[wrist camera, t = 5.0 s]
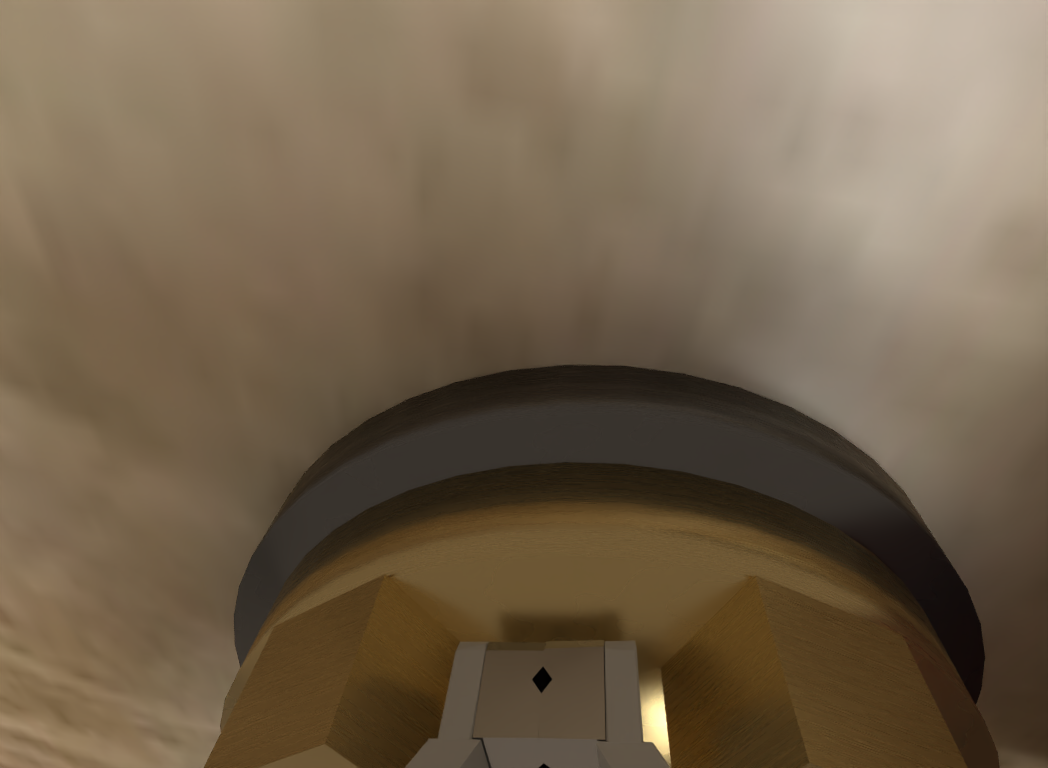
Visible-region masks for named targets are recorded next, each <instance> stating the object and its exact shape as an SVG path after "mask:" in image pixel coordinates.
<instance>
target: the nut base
mask: <svg viewBox="0 0 1048 768" xmlns="http://www.w3.org/2000/svg"><path fill="white" fill-rule="evenodd" d="M561 462H577V463H610V464H629V465H636V466H644V467H651V468H659V469H666V470H674V471H681V472H686V473H690V474H694V475H698V476H703V477H707V478H711V479H715V480H719V481H723V482H727V483H732V484H736V485H739V486H742V487H745V488H748V489H750V490H753V491H756V492H759V493H761V494H764V495H767V496H770V497H772V498H775V499H778V500H781V501H783V502H786V503H789V504H791V505H793V506H795V507H797V508H799V509H801V510H803V511H805V512H807V513H809V514H811V515H813V516H815V517H817V518H819V519H821V520H823V521H825V522H827V523H829V524H831V525H833V526H835V527H836V528H838V529H839V530H840V531H842V532H843V533H845V534H846V535H848V536H849V537H851V538H852V539H853V540H855V541H856V542H858V543H859V544H861V545H862V546H864V547H865V548H866V549H868V550H869V551H871V552H872V553H873V554H875V555H876V556H877V557H878V558H879V559H880V560H881V561H882V562H883V563H884V564H885V565H886V566H887V567H888V568H889V569H890V570H891V571H892V572H893V573H894V574H895V575H896V576H898V577H899V578H900V579H901V580H902V581H903V582H904V584H905V585H906V587H907V588H908V589H909V591H910V592H911V594H912V595H913V596H914V598H915V599H916V601H917V602H918V603H919V605H920V606H921V607H922V609H923V610H924V612H925V613H926V615H927V617H928V619H929V621H930V623H931V624H932V626H933V628H934V630H935V632H936V634H937V635H938V637H939V639H940V641H941V643H942V645H943V646H944V648H945V650H946V652H947V654H948V655H949V657H950V659H951V661H952V663H953V665H954V666H955V668H956V670H957V672H958V674H959V676H960V677H961V679H962V681H963V683H964V685H965V687H966V688H967V690H968V692H969V694H970V696H971V697H972V699H973V701H974V703H975V705H976V703H977V700H978V697H979V694H980V692H981V687H982V679H983V670H984V661H985V654H984V646H983V638H982V631H981V624H980V621H979V618H978V616H977V613H976V610H975V608H974V605H973V603H972V600H971V597H970V595H969V592H968V590H967V588H966V586H965V585H964V583H963V582H962V580H961V579H960V577H959V575H958V574H957V572H956V571H955V569H954V568H953V566H952V565H951V563H950V561H949V560H948V558H947V557H946V555H945V554H944V552H943V550H942V549H941V547H940V546H939V544H938V543H937V541H936V540H935V538H934V536H933V535H932V533H931V532H930V530H929V529H928V527H927V526H926V524H925V522H924V521H923V519H922V518H921V516H920V515H919V513H918V512H917V510H916V509H915V507H914V506H913V504H912V503H911V501H910V500H909V498H908V497H907V495H906V494H905V492H904V491H903V490H902V489H901V488H900V487H899V486H898V485H897V484H896V483H895V482H894V481H893V480H892V479H891V477H890V476H889V475H888V474H887V473H886V472H885V471H884V470H883V469H882V468H881V467H880V466H879V465H878V464H877V463H876V462H875V461H874V460H873V459H871V458H870V457H869V456H867V455H866V454H865V453H863V452H862V451H861V450H859V449H858V448H857V447H855V446H854V445H853V444H851V443H850V442H849V441H847V440H846V439H845V438H843V437H842V436H841V435H839V434H838V433H837V432H835V431H833V430H831V429H829V428H828V427H826V426H824V425H822V424H820V423H818V422H816V421H815V420H813V419H811V418H809V417H807V416H805V415H804V414H802V413H800V412H798V411H796V410H794V409H793V408H791V407H788V406H785V405H783V404H780V403H778V402H775V401H772V400H770V399H767V398H764V397H762V396H759V395H757V394H754V393H751V392H749V391H746V390H744V389H741V388H738V387H734V386H730V385H726V384H722V383H718V382H714V381H710V380H706V379H702V378H698V377H694V376H690V375H686V374H680V373H673V372H665V371H657V370H649V369H642V368H634V367H626V366H573V365H565V366H555V367H545V368H534V369H524V370H514V371H507V372H502V373H498V374H493V375H488V376H484V377H479V378H475V379H470V380H465V381H461V382H456V383H453V384H450V385H448V386H445V387H442V388H439V389H436V390H433V391H431V392H428V393H425V394H422V395H419V396H416V397H414V398H411V399H408V400H406V401H404V402H402V403H400V404H398V405H396V406H394V407H392V408H390V409H388V410H386V411H385V412H383V413H381V414H379V415H377V416H375V417H373V418H371V419H369V420H367V421H365V422H364V423H363V424H361V425H360V426H358V427H357V428H356V429H354V430H353V431H351V432H350V433H349V434H347V435H346V436H344V437H343V438H342V439H340V440H339V441H338V442H336V443H335V444H333V445H332V446H331V447H330V448H329V449H328V450H327V451H326V452H325V453H324V454H323V455H322V456H321V457H320V458H319V459H318V460H317V461H316V462H315V463H314V464H313V465H312V466H311V467H310V468H309V469H308V470H307V471H306V472H305V473H304V475H303V476H302V478H301V479H300V480H299V482H298V483H297V485H296V486H295V488H294V489H293V491H292V492H291V493H290V495H289V496H288V498H287V499H286V501H285V502H284V504H283V506H282V507H281V509H280V511H279V512H278V514H277V516H276V517H275V519H274V521H273V522H272V524H271V526H270V527H269V529H268V531H267V532H266V534H265V536H264V537H263V539H262V540H261V542H260V544H259V545H258V547H257V549H256V550H255V552H254V554H253V555H252V557H251V560H250V562H249V564H248V567H247V569H246V572H245V574H244V576H243V579H242V581H241V583H240V586H239V591H238V596H237V602H236V607H235V613H234V631H235V647H236V651H237V655H238V659H239V663H240V667H241V666H242V664H243V662H244V660H245V658H246V656H247V654H248V652H249V651H250V649H251V647H252V645H253V643H254V641H255V639H256V637H257V635H258V633H259V631H260V629H261V627H262V625H263V624H264V622H265V620H266V618H267V616H268V614H269V612H270V610H271V608H272V606H273V604H274V602H275V600H276V599H277V597H278V595H279V593H280V591H281V589H282V587H283V585H284V583H285V581H286V579H287V578H288V577H289V576H290V574H291V573H292V572H293V570H294V569H295V568H296V567H297V565H298V564H299V563H300V561H301V560H302V559H303V558H304V556H305V555H306V554H307V553H308V552H309V551H310V550H311V549H313V548H314V547H315V546H316V545H317V544H318V543H319V542H320V541H322V540H323V539H324V538H325V537H326V536H327V535H328V534H329V533H331V532H332V531H333V530H334V529H336V528H338V527H339V526H341V525H342V524H344V523H346V522H347V521H349V520H350V519H352V518H353V517H355V516H357V515H358V514H360V513H361V512H363V511H365V510H366V509H368V508H370V507H372V506H375V505H377V504H379V503H381V502H384V501H386V500H388V499H390V498H393V497H395V496H397V495H399V494H401V493H404V492H406V491H408V490H411V489H415V488H418V487H421V486H424V485H428V484H431V483H434V482H438V481H441V480H444V479H448V478H451V477H454V476H458V475H464V474H469V473H475V472H480V471H486V470H491V469H497V468H502V467H508V466H520V465H534V464H547V463H561Z"/></svg>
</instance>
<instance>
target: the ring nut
mask: <svg viewBox="0 0 1048 768" xmlns="http://www.w3.org/2000/svg"><path fill="white" fill-rule="evenodd" d="M586 640H604V642H605V641H631V640H635V642H636V647H637V661H638V674H639V688H640V701H641V715H642V728H643V742H653V743H654V745H655V746H656V747H657V749H658V750H659V752H660V753H661V755H662V756H663V758H664V759H665V761H666V762H667V764H668V765H669V767H670V768H999V760H998V752H997V750H996V747H995V745H994V742H993V740H992V738H991V735H990V733H989V731H988V728H987V726H986V724H985V721H984V719H983V718H982V716H981V714H980V712H979V710H978V708H977V707H976V705H975V703H974V701H973V699H972V697H971V696H970V694H969V692H968V690H967V688H966V687H965V685H964V683H963V681H962V679H961V677H960V676H959V674H958V672H957V670H956V668H955V666H954V665H953V663H952V661H951V659H950V657H949V655H948V654H947V652H946V650H945V648H944V646H943V645H942V643H941V641H940V639H939V637H938V635H937V634H936V632H935V630H934V628H933V626H932V624H931V623H930V621H929V619H928V617H927V615H926V613H925V612H924V610H923V609H922V607H921V606H920V605H919V603H918V602H917V601H916V599H915V598H914V596H913V595H912V594H911V592H910V591H909V589H908V588H907V587H906V585H905V584H904V582H903V581H902V580H901V579H900V578H899V577H898V576H896V575H895V574H894V573H893V572H892V571H891V570H890V569H889V568H888V567H887V566H886V565H885V564H884V563H883V562H882V561H881V560H880V559H879V558H878V557H877V556H876V555H875V554H873V553H872V552H871V551H869V550H868V549H866V548H865V547H864V546H862V545H861V544H859V543H858V542H856V541H855V540H853V539H852V538H851V537H849V536H848V535H846V534H845V533H843V532H842V531H840V530H839V529H838V528H836V527H835V526H833V525H831V524H829V523H827V522H825V521H823V520H821V519H819V518H817V517H815V516H813V515H811V514H809V513H807V512H805V511H803V510H801V509H799V508H797V507H795V506H793V505H791V504H789V503H786V502H783V501H781V500H778V499H775V498H772V497H770V496H767V495H764V494H761V493H759V492H756V491H753V490H750V489H748V488H745V487H742V486H739V485H736V484H732V483H727V482H723V481H719V480H715V479H711V478H707V477H703V476H698V475H694V474H690V473H686V472H681V471H674V470H666V469H659V468H651V467H644V466H636V465H629V464H610V463H577V462H561V463H547V464H534V465H520V466H508V467H502V468H497V469H491V470H486V471H480V472H475V473H469V474H464V475H458V476H454V477H451V478H448V479H444V480H441V481H438V482H434V483H431V484H428V485H424V486H421V487H418V488H415V489H411V490H408V491H406V492H404V493H401V494H399V495H397V496H395V497H393V498H390V499H388V500H386V501H384V502H381V503H379V504H377V505H375V506H372V507H370V508H368V509H366V510H365V511H363V512H361V513H360V514H358V515H357V516H355V517H353V518H352V519H350V520H349V521H347V522H346V523H344V524H342V525H341V526H339V527H338V528H336V529H334V530H333V531H332V532H331V533H329V534H328V535H327V536H326V537H325V538H324V539H323V540H322V541H320V542H319V543H318V544H317V545H316V546H315V547H314V548H313V549H311V550H310V551H309V552H308V553H307V554H306V555H305V556H304V558H303V559H302V560H301V561H300V563H299V564H298V565H297V567H296V568H295V569H294V570H293V572H292V573H291V574H290V576H289V577H288V578H287V579H286V581H285V583H284V585H283V587H282V589H281V591H280V593H279V595H278V597H277V599H276V600H275V602H274V604H273V606H272V608H271V610H270V612H269V614H268V616H267V618H266V620H265V622H264V624H263V625H262V627H261V629H260V631H259V633H258V635H257V637H256V639H255V641H254V643H253V645H252V647H251V649H250V651H249V652H248V654H247V656H246V658H245V660H244V662H243V664H242V666H241V668H240V670H239V672H238V674H237V676H236V678H235V680H234V682H233V684H232V686H231V688H230V690H229V692H228V694H227V696H226V699H225V703H224V709H223V714H222V719H221V724H220V727H221V734H220V736H219V738H218V740H217V742H216V744H215V746H214V748H213V750H212V752H211V754H210V756H209V758H208V760H207V762H206V764H205V766H204V768H405V767H406V765H407V764H408V763H409V762H410V761H411V759H412V758H413V757H414V756H415V755H416V753H417V752H418V751H419V750H420V749H421V747H422V746H423V745H424V744H425V743H426V741H427V740H428V739H429V738H438V734H439V729H440V724H441V719H442V714H443V709H444V705H445V700H446V695H447V690H448V685H449V680H450V675H451V671H452V666H453V661H454V656H455V652H456V649H457V647H458V645H459V643H460V642H546V641H586Z"/></svg>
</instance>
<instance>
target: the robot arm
mask: <svg viewBox="0 0 1048 768" xmlns="http://www.w3.org/2000/svg"><path fill="white" fill-rule="evenodd" d="M405 768H670V767H669V765H668V764H667V762H666V761H665V759H664V758H663V756H662V755H661V753H660V752H659V750H658V749H657V747H656V746H655V745H654V743H653V742H643V728H642V715H641V701H640V688H639V674H638V661H637V647H636V642H635V640H631V641H605V642H604V640H586V641H546V642H460V643H459V645H458V647H457V649H456V652H455V656H454V661H453V666H452V671H451V675H450V680H449V685H448V690H447V695H446V700H445V705H444V709H443V714H442V719H441V724H440V729H439V734H438V738H429V739H428V740H427V741H426V743H425V744H424V745H423V746H422V747H421V749H420V750H419V751H418V752H417V753H416V755H415V756H414V757H413V758H412V759H411V761H410V762H409V763H408V764H407V765H406V767H405Z"/></svg>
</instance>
